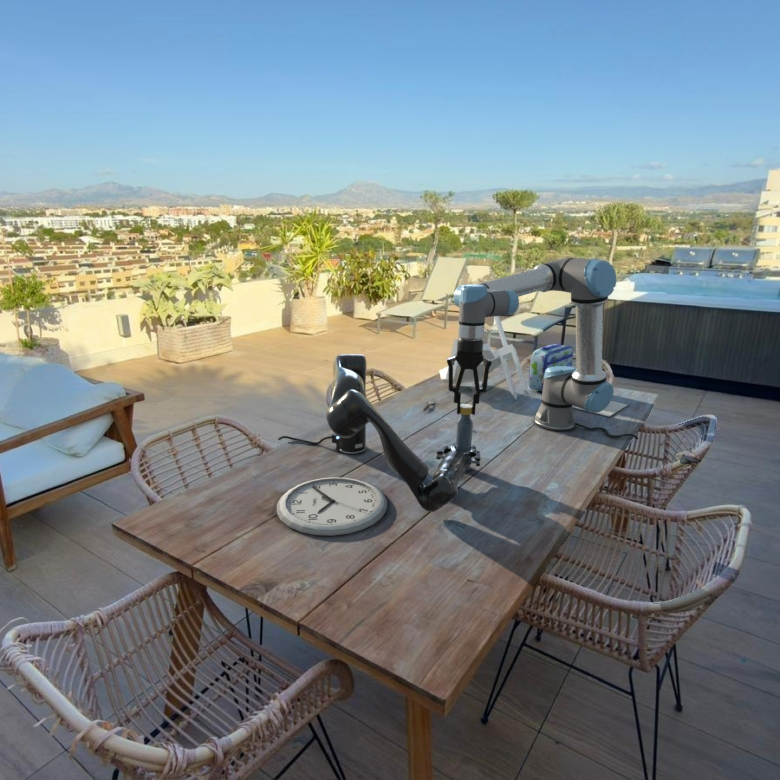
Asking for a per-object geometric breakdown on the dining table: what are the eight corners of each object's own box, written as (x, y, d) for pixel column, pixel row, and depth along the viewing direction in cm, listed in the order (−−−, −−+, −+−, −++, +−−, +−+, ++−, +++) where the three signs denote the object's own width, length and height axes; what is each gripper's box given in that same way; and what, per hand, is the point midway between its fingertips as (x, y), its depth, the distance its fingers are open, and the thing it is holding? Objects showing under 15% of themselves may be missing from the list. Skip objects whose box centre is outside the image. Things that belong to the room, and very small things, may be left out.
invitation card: (608, 416, 214) (573, 407, 224) (608, 416, 214) (573, 408, 224) (628, 404, 229) (594, 396, 238) (628, 405, 229) (594, 397, 238)
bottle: (471, 470, 164) (476, 409, 158) (457, 472, 164) (461, 410, 157) (466, 464, 169) (470, 404, 163) (452, 465, 168) (456, 405, 162)
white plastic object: (461, 429, 252) (437, 405, 227) (444, 352, 274) (420, 323, 250) (535, 404, 240) (518, 377, 215) (510, 326, 262) (492, 293, 237)
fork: (420, 411, 216) (420, 406, 216) (430, 400, 230) (431, 395, 230) (426, 412, 215) (426, 407, 215) (436, 401, 230) (436, 396, 229)
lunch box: (545, 396, 239) (550, 351, 232) (524, 391, 246) (528, 347, 240) (572, 385, 256) (577, 343, 250) (552, 380, 263) (557, 339, 257)
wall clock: (392, 527, 129) (268, 531, 127) (391, 533, 130) (269, 537, 127) (383, 473, 158) (282, 475, 155) (383, 478, 158) (282, 480, 156)
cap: (464, 409, 163) (464, 402, 163) (475, 412, 161) (475, 406, 160) (456, 412, 161) (456, 405, 160) (467, 416, 158) (467, 409, 157)
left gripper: (477, 460, 148) (488, 438, 163) (429, 452, 153) (443, 432, 168) (475, 484, 150) (486, 460, 166) (428, 475, 155) (442, 453, 170)
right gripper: (498, 336, 157) (492, 410, 164) (441, 334, 158) (437, 407, 165) (501, 341, 150) (495, 418, 157) (441, 339, 151) (438, 416, 158)
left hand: (465, 446), depth 167 cm, fingers closed on bottle, 4 cm apart
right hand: (465, 412), depth 161 cm, fingers closed on cap, 4 cm apart
